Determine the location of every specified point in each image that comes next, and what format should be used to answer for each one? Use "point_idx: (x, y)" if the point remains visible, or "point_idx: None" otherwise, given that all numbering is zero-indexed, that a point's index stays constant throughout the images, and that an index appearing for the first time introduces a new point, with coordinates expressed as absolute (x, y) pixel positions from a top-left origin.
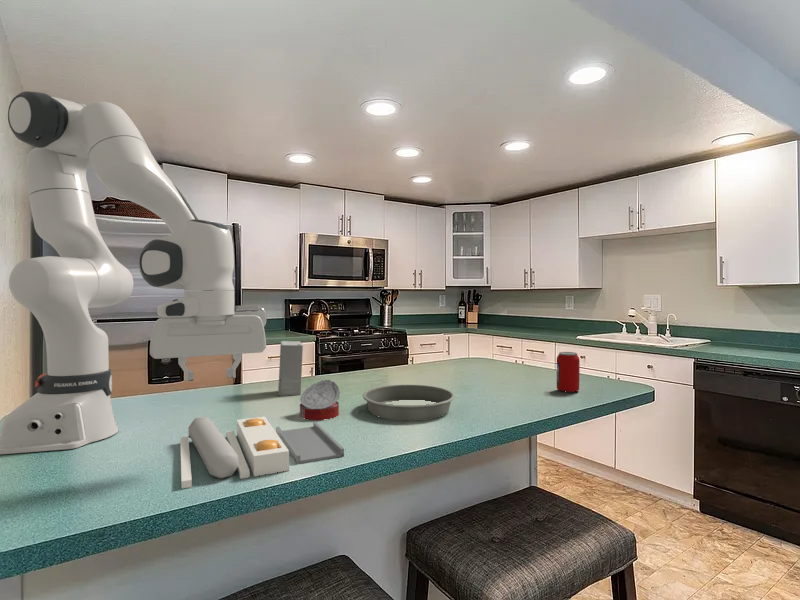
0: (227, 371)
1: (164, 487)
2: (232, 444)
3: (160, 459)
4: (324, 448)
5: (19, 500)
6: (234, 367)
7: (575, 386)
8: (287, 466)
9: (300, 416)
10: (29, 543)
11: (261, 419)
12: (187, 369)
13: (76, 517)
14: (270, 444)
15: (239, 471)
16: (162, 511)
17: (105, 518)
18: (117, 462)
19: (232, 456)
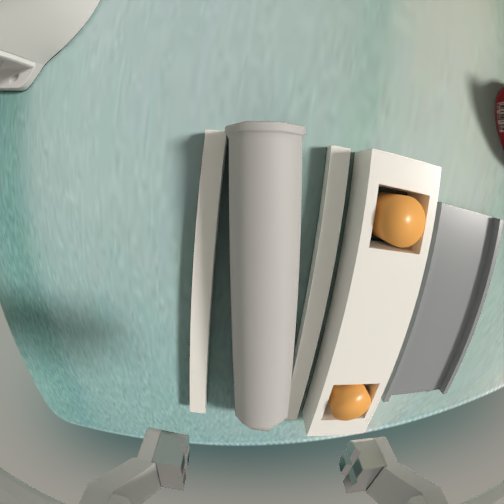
0: (347, 479)
1: (167, 385)
2: (317, 274)
3: (154, 241)
4: (442, 358)
5: (9, 310)
6: (375, 494)
7: None
8: None
9: (496, 112)
10: (67, 421)
11: (423, 220)
12: (151, 488)
13: (82, 401)
14: (351, 415)
15: None
16: None
17: (113, 421)
18: (80, 212)
19: (274, 426)
